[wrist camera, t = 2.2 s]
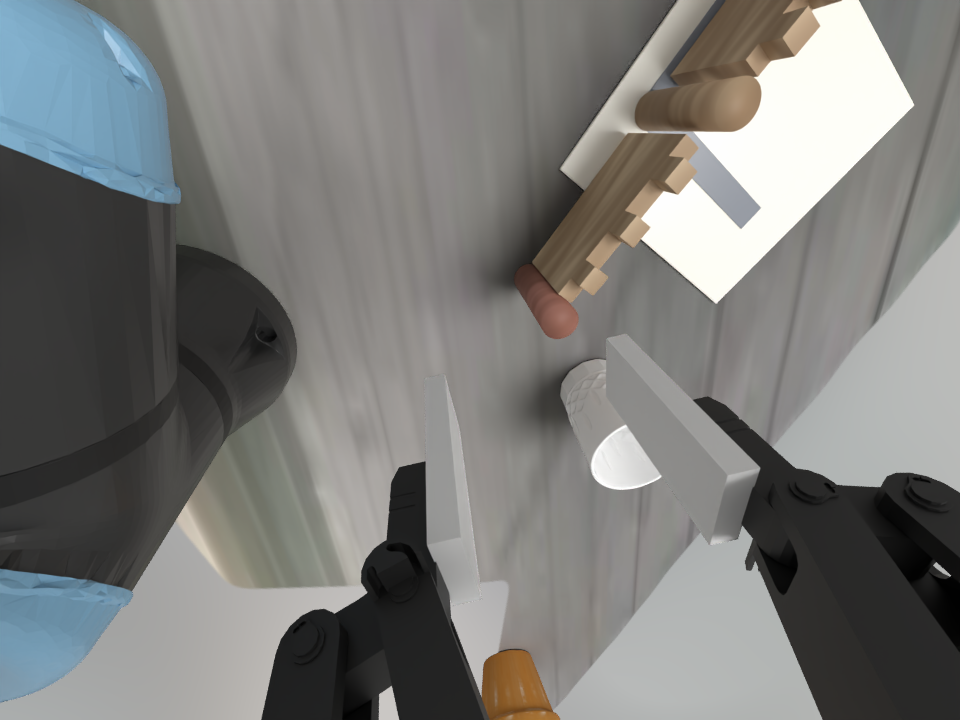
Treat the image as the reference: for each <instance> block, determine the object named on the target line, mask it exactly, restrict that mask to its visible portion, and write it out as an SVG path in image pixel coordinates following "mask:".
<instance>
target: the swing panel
mask: <svg viewBox="0 0 960 720" xmlns="http://www.w3.org/2000/svg"><path fill="white" fill-rule="evenodd" d="M698 149H699V147H698V146H697V145H696V144H695V143H694V142H693V141H692V140H691V138H690V137H689V136H688V135H687V134H666V133H627V135H626V136H625V137H624V139H623V140H622V141H621V143H620V144H619V145H618V147H617V148H616V149H615V151H614V152H613V154H612V155H611V156H610V158H609V159H608V160H607V162H606V163H605V164H604V166H603V167H602V168H601V170H600V171H599V172H598V174H597V175H596V176H595V178H594V179H593V180H592V182H591V183H590V185H589V186H588V187H587V189H586V190H585V191H584V193H583V194H582V195H581V197H580V198H579V199H578V201H577V202H576V203H575V205H574V206H573V207H572V209H571V210H570V211H569V213H568V214H567V216H566V217H565V218H564V220H563V221H562V222H561V224H560V225H559V226H558V228H557V229H556V230H555V232H554V233H553V234H552V236H551V237H550V238H549V240H548V241H547V242H546V244H545V245H544V247H543V248H542V249H541V251H540V252H539V253H538V255H537V256H536V257H535V259H534V260H533V261H532V263H533V264H526V265H523V266H521V267H520V268H519V269H518V270H517V272H516V273H515V277H514V282H515V285H516V287H517V289H518V290H519V292H520V294H521V295H522V297H523V299H524V300H525V302H526V303H527V305H528V307H529V308H530V310H531V312H532V313H533V315H534V317H535V318H536V320H537V322H538V323H539V325H540V327H541V328H542V330H543V331H544V333H545V334H546V335H547V336H548V337H550V338H553V339H561V338H565V337H567V336H569V335H570V334H571V333H572V332H573V331H574V330H575V329H576V327H577V325H578V314H577V312H576V310H575V309H574V308H573V307H572V306H571V304H570V303H569V302H571V303H572V302H573V300H574V299H575V298H576V297H577V296H578V294H579V293H580V292H581V291H582V290H583V289H585V290H586V291H587V292H589V293H590V294H592V295H594V294H595V293H596V292H597V291H598V289H599V288H600V287H601V286H602V285H603V284H604V282H605V281H606V280H607V279H608V278H609V277H608V276H606V275H605V274H604V273H603V272H601V271H600V270H599V269H600V268H601V267H602V265H603V264H604V263H605V262H606V260H607V259H608V258H609V257H610V256H611V254H612V253H613V252H614V251H615V250H616V248H617V247H618V246H619V245H620V243H621V242H623V243H625V244H627V245H629V246H630V247H632V248H634V247H635V246H636V244H637V243H638V242H639V241H640V240H641V238H642V237H643V236H644V235H645V234H646V233H647V231H648V230H649V229H650V228H651V227H650V226H648V225H647V224H646V223H645V222H644V221H643V220H642V219H641V218H642V217H643V216H644V214H645V213H646V212H647V211H648V210H649V208H650V207H651V206H652V205H653V203H654V202H655V201H656V200H657V199H658V197H659V196H660V195H661V194H662V193H663V191H665V192H669V193H673V194H677V195H679V193H680V192H681V191H682V190H683V189H684V187H685V186H686V185H687V184H688V183H689V182H690V180H691V179H692V178H693V177H694V176H695V174H696V173H697V170H696V169H695V168H694V167H693V166H692V165H691V164H690V163H689V162H688V161H689V160H690V159H691V157H692V156H693V155H694V154H695V153H696V151H697V150H698ZM567 300H568V301H569V302H568V301H567Z"/></svg>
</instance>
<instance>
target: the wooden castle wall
mask: <svg viewBox="0 0 960 720" xmlns="http://www.w3.org/2000/svg"><path fill="white" fill-rule="evenodd" d="M840 1H842V0H726V1H725V3H724V4H723V5H722V7H721V8H720V9H719V11H718V12H717V13H716V15H715V16H714V17H713V19H712V20H711V21H710V23H709V24H708V25H707V27H706V28H705V29H704V31H703V32H702V34H701V35H700V36H699V38H698V39H697V40H696V42H695V43H694V44H693V46H692V47H691V48H690V50H689V51H688V52H687V54H686V55H685V56H684V58H683V59H682V60H681V62H680V63H679V65H678V66H677V67H676V69H675V70H674V71H673V73H672V74H671V75H670V76H671V77H672V78H673V80H674V81H675V82H676V83H677V84H678V85H679V86H678V87H672V88H665V89H659V90H653V91H650V92H647V93H646V94H645V95H643V96H642V97H641V99H640V100H639V102H638V103H637V106H636V109H635V122H636V124H637V126H638V127H639V128H640V129H641V130H643V131H683V132H735V131H738V130H740V129H742V128H743V127H745V126H746V125H747V124H748V123H749V122H750V121H751V120H752V119H753V117H754V116H755V114H756V112H757V111H758V108H759V106H760V102H761V95H762V92H761V86H760V84H759V82H758V81H757V79H755V78H754V77H758V76H759V75H760V74H761V72H762V71H763V70H764V69H765V68H766V66H767V65H768V64H769V63H770V62H771V61H774V60H779V59H784V58H790V57H795V56H796V55H797V53H798V52H799V51H800V50H801V49H802V47H803V46H804V45H805V44H806V43H807V42H808V40H809V39H810V38H811V37H812V36H813V34H814V33H815V32H816V31H817V30H818V28H819V27H820V24H819V23H818V21H817V19H816V18H815V16H814V14H813V13H812V11H813V9H817V8H820V7H823V6H827V5H830V4H833V3H837V2H840Z"/></svg>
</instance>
